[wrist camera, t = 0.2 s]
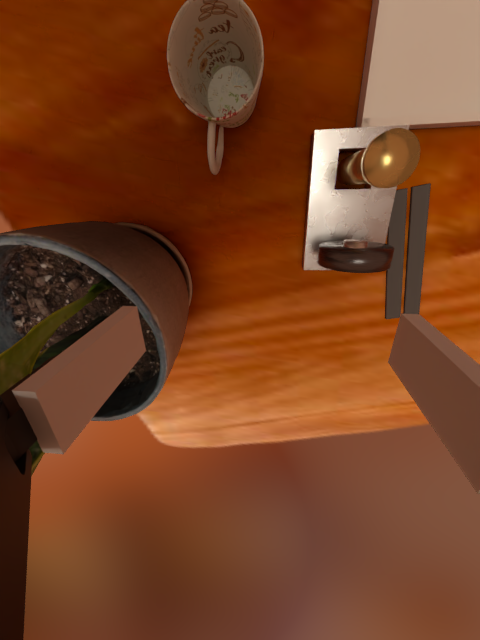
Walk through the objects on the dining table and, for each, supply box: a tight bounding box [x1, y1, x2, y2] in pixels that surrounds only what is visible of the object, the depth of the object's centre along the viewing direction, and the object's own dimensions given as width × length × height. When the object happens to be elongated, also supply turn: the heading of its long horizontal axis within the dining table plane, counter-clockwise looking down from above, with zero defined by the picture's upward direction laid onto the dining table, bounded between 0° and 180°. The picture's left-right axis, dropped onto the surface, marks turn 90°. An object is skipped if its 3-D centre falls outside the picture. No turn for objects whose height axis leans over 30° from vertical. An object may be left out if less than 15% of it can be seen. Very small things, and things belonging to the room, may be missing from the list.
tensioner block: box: [302, 125, 409, 273], centre depth 30 cm, size 16×10×11 cm, turn 2°
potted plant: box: [0, 221, 192, 476], centre depth 25 cm, size 21×22×40 cm
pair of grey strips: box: [385, 184, 430, 319], centre depth 37 cm, size 18×5×1 cm, turn 12°
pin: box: [336, 128, 420, 188], centre depth 27 cm, size 4×4×13 cm
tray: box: [356, 0, 480, 129], centre depth 26 cm, size 16×14×2 cm
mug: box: [167, 0, 264, 175], centre depth 28 cm, size 8×13×10 cm, turn 173°
